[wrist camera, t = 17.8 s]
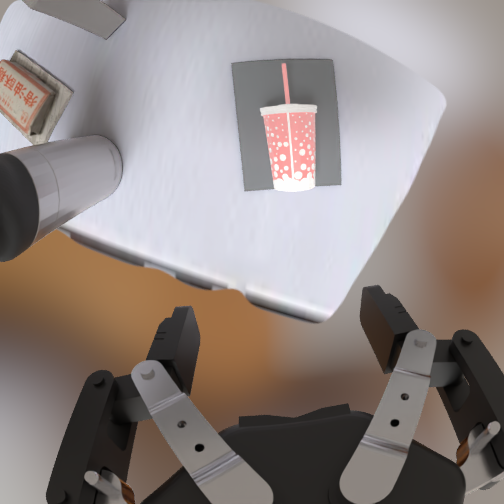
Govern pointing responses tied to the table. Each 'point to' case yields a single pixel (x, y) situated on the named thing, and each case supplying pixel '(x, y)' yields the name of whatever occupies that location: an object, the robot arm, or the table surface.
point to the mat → (272, 94)
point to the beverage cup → (291, 142)
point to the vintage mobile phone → (81, 14)
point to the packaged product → (31, 98)
